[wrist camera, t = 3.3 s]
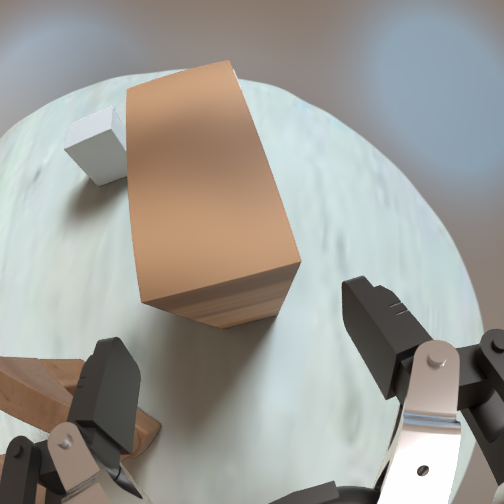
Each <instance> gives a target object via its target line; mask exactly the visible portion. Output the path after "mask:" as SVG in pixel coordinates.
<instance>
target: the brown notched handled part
mask: <svg viewBox="0 0 504 504" xmlns="http://www.w3.org/2000/svg"><path fill="white" fill-rule="evenodd" d="M84 364H85V362H84V361H83V360H81V359H37V358H19V357H1V356H0V410H2V411H4V412H6V413H7V414H9V415H11V416H13V417H15V418H17V419H19V420H21V421H23V422H25V423H28V424H30V425H32V426H34V427H36V428H39V429H41V430H43V431H46V432H48V433H51V431H52V430H53V429H54V428H55V427H56V426H57V425H59V424H61V423H64V422H66V421H67V417H68V414H69V410H70V406H71V403H72V399H73V396H74V392H75V389H77V387H76V386H77V383H78V380H79V379H80V378H79V376H80V373H81V370H82V367H83V365H84ZM160 428H161V424H160V423H159V422H158V421H156V420H155V419H153V418H152V417H151V416H149V415H148V414H146V413H145V412H144V411H142V410H141V409H140V408H138V407H137V412H136V421H135V431H134V441H133V453H132V455H120V462H121V461H122V460H124V459H125V458H127V457H128V456H129V457H130V458H132V459H134V458H136V457H137V456H139V455H140V454H141V453H142V452H144V451H145V450H146V449H147V448H148V447H149V445H150V444H151V442H152V441H153V439H154V437H155V436H156V434H157V433H158V431H159V430H160ZM5 455H6V454H2V455H0V480H1V474H2V469H3V464H4V460H5ZM45 493H46V488H44V487H43V486H41V485H39V484H38V483H37V491H36V501H35V504H45Z"/></svg>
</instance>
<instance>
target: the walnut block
mask: <svg viewBox="0 0 504 504" xmlns="http://www.w3.org/2000/svg"><path fill="white" fill-rule="evenodd" d="M126 158H127V181H128V197H129V210H130V221H131V231H132V241H133V249H134V257H135V265H136V272H137V279H138V285H139V291H140V297H141V303H144V304H147V305H150V306H153V307H155V308H158V309H161V310H164V311H167V312H170V313H173V314H176V315H179V316H182V317H185V318H188V319H191V320H195V321H198V322H201V323H204V324H207V325H211V326H214V327H217V328H221V329H226V328H230V327H234V326H238V325H242V324H246V323H249V322H253V321H257V320H261V319H265V318H268V317H272V316H276V315H278V313H279V311H280V309H281V306H282V304H283V302H284V300H285V298H286V295H287V293H288V291H289V289H290V286H291V284H292V282H293V279H294V277H295V275H296V273H297V270H298V268H299V266H300V263H301V258H300V255H299V252H298V249H297V246H296V243H295V239H294V236H293V233H292V230H291V227H290V224H289V221H288V218H287V215H286V212H285V209H284V206H283V203H282V200H281V197H280V194H279V192H278V189H277V186H276V183H275V180H274V177H273V174H272V171H271V169H270V166H269V163H268V160H267V157H266V155H265V152H264V149H263V146H262V144H261V141H260V138H259V136H258V133H257V130H256V128H255V125H254V122H253V120H252V117H251V114H250V112H249V109H248V106H247V104H246V101H245V99H244V96H243V94H242V91H241V88H240V86H239V83H238V81H237V78H236V76H235V73H234V71H233V68H232V66H231V64H230V61H229V60H227V61H222V62H217V63H213V64H208V65H204V66H200V67H196V68H192V69H188V70H185V71H181V72H178V73H174V74H171V75H167V76H164V77H161V78H158V79H155V80H152V81H149V82H146V83H143V84H140V85H137V86H134V87H132V88H129V89H127V98H126Z"/></svg>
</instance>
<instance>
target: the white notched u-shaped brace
mask: <svg viewBox="0 0 504 504" xmlns="http://www.w3.org/2000/svg"><path fill="white" fill-rule="evenodd" d="M233 71H234V70H233ZM234 73H235V72H234ZM235 76H236V74H235ZM236 78H237V76H236ZM237 81H238V79H237ZM238 83H239V81H238ZM239 86H240V84H239ZM240 88H241V86H240ZM241 91H242V89H241ZM64 150H65V151H66V152H67V153H68V155H69V156H70V157H71V158H72V159H73V160H74V161H75V162H76V163H77V164H78V165H79V166H80V168H81V169H82V170H83V171H84V172H85V173H86V174H87V175H88V176H89V177H90V178H91V179H92V180H93V181H94V182H95V183H96V185H97V186H98V187H99V186H102V185H105V184H107V183H110V182H113V181H115V180H118V179H121V178H124V177H126V176H127V158H126V127H125V126H124V124H123V122H122V121H121V119H120V117H119V115H118V114H117V112H116V110H115V109H114V107H113V105H112V106H109V107H107V108H104V109H102V110H100V111H97V112H95V113H93V114H91V115H88V116H86V117H84V118H82V119H80V120H77V121H75V122H73V123H71V124H69V125H68V126H67V132H66V138H65V145H64Z"/></svg>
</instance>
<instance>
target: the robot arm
mask: <svg viewBox="0 0 504 504" xmlns="http://www.w3.org/2000/svg"><path fill="white" fill-rule="evenodd" d="M342 314H343V321H344V325H345V328H346V330H347V332H348V334H349V336H350V337H351V339H352V341H353V342H354V344H355V346H356V348H357V349H358V351H359V353H360V355H361V356H362V358H363V360H364V362H365V363H366V365H367V367H368V369H369V371H370V372H371V374H372V376H373V378H374V379H375V381H376V383H377V385H378V387H379V388H380V390H381V392H382V394H383V396H384V398H385V399H386V400H388V399H390V398H392V397H394V396H396V397H397V398H398V400H399V402H400V404H399V407H398V411H397V415H396V419H395V423H394V427H393V431H392V434H391V438H390V441H389V444H388V448H387V451H386V454H385V457H384V459H383V462H382V464H381V467H380V469H379V472H378V475H377V477H376V480H375V483H374V485H373V488H372V489H371V488H366V487H358V486H340V487H336V485H335V482H334V481H331V482H328V483H325V484H322V485H318V486H315V487H311V488H308V489H304V490H300V491H296V492H293V493H291V494H289V495H287V496H285V497H282V498H280V499H278V500H276V501H273V502H271V503H269V504H446V503H447V500H448V496H449V492H450V488H451V484H452V480H453V475H454V471H455V466H456V461H457V455H458V449H459V443H460V436H461V424H460V422H458V421H456V412H457V411H459V410H460V411H461V413H462V414H463V416H464V418H465V420H466V422H467V423H468V425H469V427H470V429H471V431H472V433H473V435H474V436H475V438H476V440H477V442H478V444H479V446H480V448H481V450H482V452H483V454H484V456H485V458H486V460H487V462H488V464H489V466H490V468H491V471H492V473H493V475H494V477H495V479H496V482H497V483H498V486H499V487H498V489H497V491H496V493H495V496H494V500H493V504H504V330H501V329H492V330H489V331H487V332H486V333H485V334H484V335H483V336H482V338H481V341H480V343H479V344H477V345H472V346H467V347H462V348H454V347H453V346H452V345H451V344H449V343H447V342H445V341H441V340H433V339H432V338H431V336H430V335H429V334H428V333H427V331H426V330H425V329H424V328H423V327H422V325H421V324H420V323H419V322H418V321H417V319H416V318H415V317H414V316H413V315H412V314H411V312H410V311H408V310H407V308H406V307H405V305H404V304H403V303H401V301H400V300H399V298H398V297H397V296H396V295H395V294H394V293H393V292H392V291H390V290H388V289H386V288H385V287H383V286H381V285H379V286H376V287H373V286H372V285H371V283H370V282H369V281H368V280H367V279H366V278H365V277H364V276H360V277H356V278H353V279H350V280H347V281H343V282H342ZM79 378H80V379H79V380H78V383H77V386H76V387H77V389H75V392H74V396H73V399H72V403H71V406H70V410H69V414H68V417H67V421H66V422H64V423H61V424H59V425H57V426H56V427H55V428H54V429H53V430H52V431H51V433H50V435H49V437H48V440H45V441H42V442H38V443H35V444H34V443H33V442H31V441H30V440H29V439H28V438H27V437H25V436H17V437H15V438H14V439H13V440H12V441H11V442H10V443H9V445H8V448H7V451H6V455H5V460H4V464H3V469H2V474H1V480H0V504H35V501H36V491H37V483H38V484H39V485H41V486H43V487H44V488H46V493H45V504H153V503H152V502H151V501H150V500H149V499H148V497H147V496H146V495H145V494H144V492H143V491H142V490H141V489H140V487H139V486H138V485H137V483H136V482H135V480H134V479H133V478H132V476H131V475H130V474H129V472H128V471H127V469H126V468H125V466H124V465H123V464H122V463H121V462H120V455H132V453H133V441H134V431H135V421H136V412H137V404H138V396H139V388H140V381H141V376H140V371H139V368H138V366H137V364H136V362H135V361H134V359H133V358H132V356H131V355H130V353H129V352H128V350H127V349H126V347H125V346H124V344H123V342H122V341H121V339H120V338H118V337H113V338H108V339H102V340H99V341H98V342H97V344H96V347H95V350H94V353H93V355H90V357H89V358H88V359H87V361H86V362H85V364H84V365H83V367H82V370H81V373H80V376H79Z"/></svg>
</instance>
